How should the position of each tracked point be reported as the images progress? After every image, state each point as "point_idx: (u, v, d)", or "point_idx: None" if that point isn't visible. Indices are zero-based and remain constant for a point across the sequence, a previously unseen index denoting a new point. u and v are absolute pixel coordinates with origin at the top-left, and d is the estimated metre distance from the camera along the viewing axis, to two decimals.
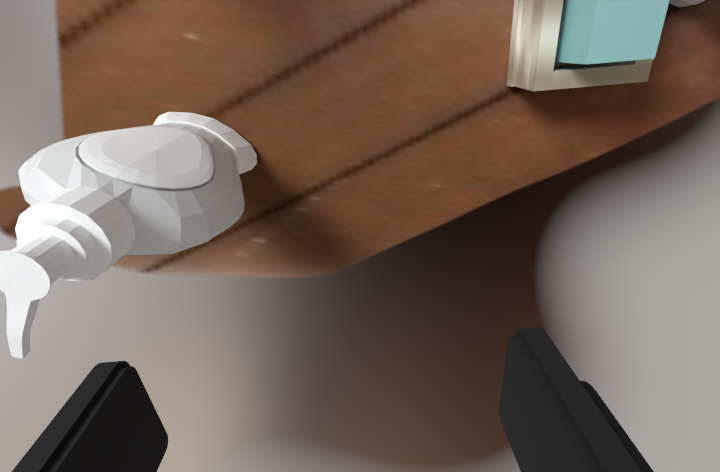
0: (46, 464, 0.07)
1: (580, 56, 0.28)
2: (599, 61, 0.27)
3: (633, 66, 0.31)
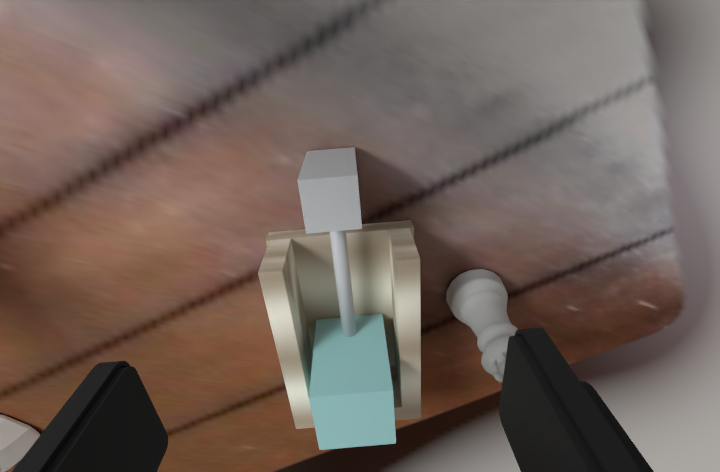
0: (46, 464, 0.07)
1: None
2: (333, 447, 0.24)
3: (401, 407, 0.28)
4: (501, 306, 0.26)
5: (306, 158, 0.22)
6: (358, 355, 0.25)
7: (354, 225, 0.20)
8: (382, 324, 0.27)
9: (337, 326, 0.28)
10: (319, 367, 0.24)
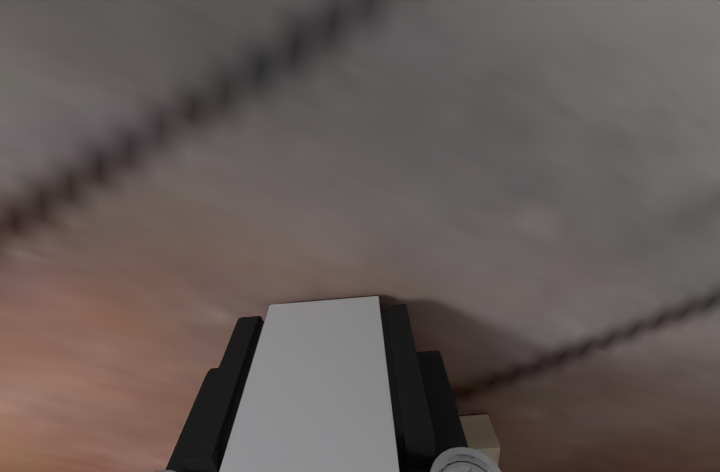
0: (233, 391, 0.08)
1: None
2: None
3: None
4: None
5: (261, 347, 0.09)
6: None
7: None
8: None
9: None
10: None
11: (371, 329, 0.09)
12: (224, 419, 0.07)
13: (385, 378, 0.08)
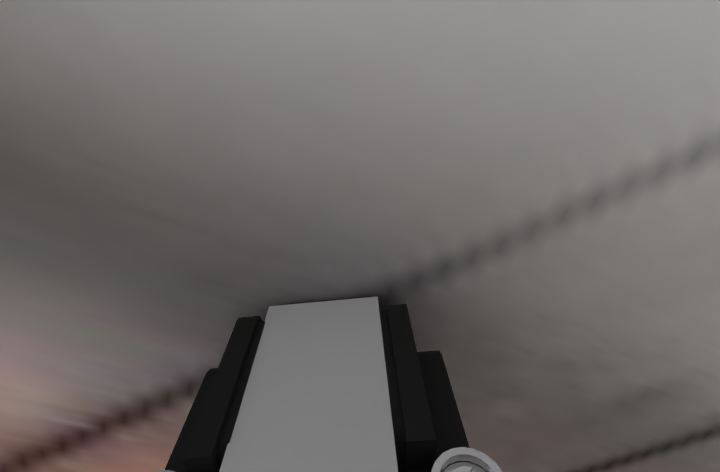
0: (233, 391, 0.08)
1: None
2: None
3: None
4: None
5: (260, 349, 0.09)
6: None
7: None
8: None
9: None
10: None
11: (370, 330, 0.09)
12: (223, 420, 0.07)
13: (384, 379, 0.08)
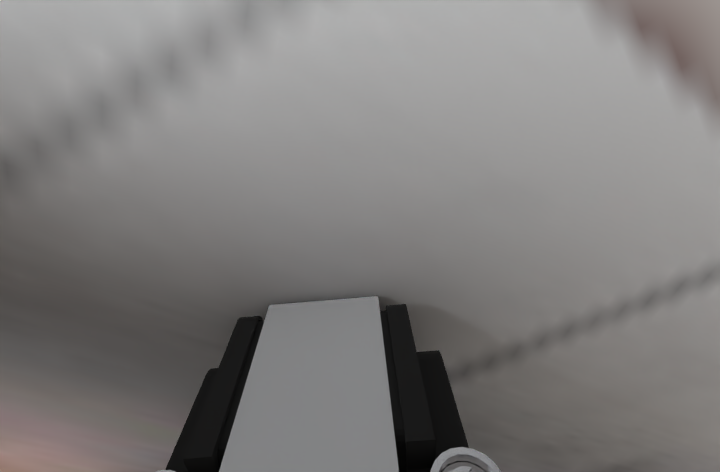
0: (233, 391, 0.08)
1: None
2: None
3: None
4: None
5: (261, 347, 0.09)
6: None
7: None
8: None
9: None
10: None
11: (371, 329, 0.09)
12: (223, 419, 0.07)
13: (385, 378, 0.08)
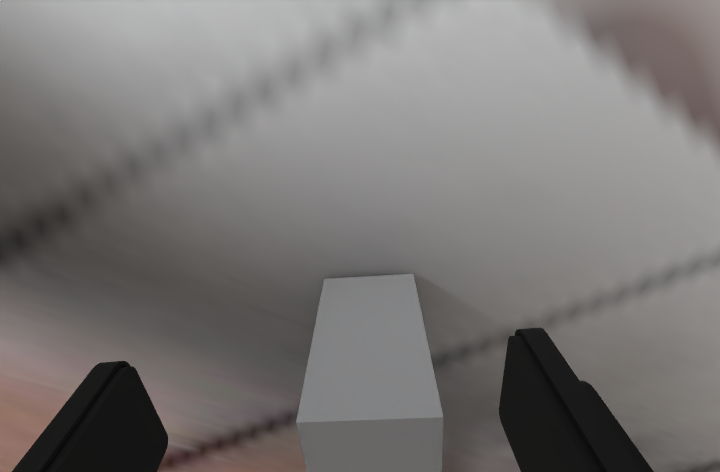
0: (46, 464, 0.07)
1: None
2: None
3: None
4: None
5: (322, 308, 0.11)
6: None
7: None
8: None
9: None
10: None
11: (409, 297, 0.11)
12: None
13: (423, 330, 0.10)
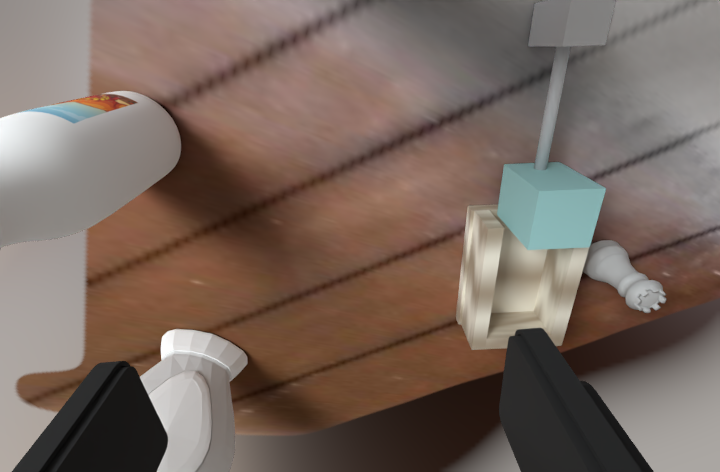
0: (46, 464, 0.07)
1: (523, 239, 0.31)
2: (539, 248, 0.30)
3: (550, 336, 0.39)
4: (630, 264, 0.37)
5: (545, 1, 0.28)
6: (559, 176, 0.31)
7: (600, 41, 0.26)
8: (564, 165, 0.33)
9: (526, 166, 0.33)
10: (532, 181, 0.30)
11: None
12: None
13: None
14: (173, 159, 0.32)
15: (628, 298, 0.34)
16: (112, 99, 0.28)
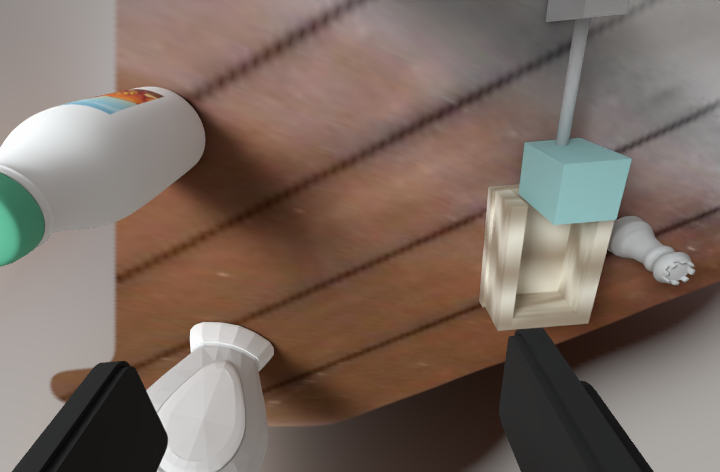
0: (46, 464, 0.07)
1: (549, 214, 0.31)
2: (565, 222, 0.30)
3: (576, 314, 0.38)
4: (655, 238, 0.37)
5: None
6: (582, 150, 0.31)
7: (621, 10, 0.26)
8: (586, 140, 0.33)
9: (547, 143, 0.33)
10: (556, 155, 0.30)
11: None
12: None
13: None
14: (199, 151, 0.33)
15: (656, 271, 0.34)
16: (140, 93, 0.28)
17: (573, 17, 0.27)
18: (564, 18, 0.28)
